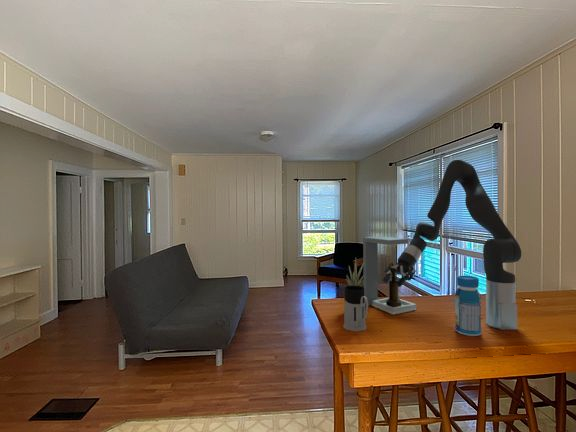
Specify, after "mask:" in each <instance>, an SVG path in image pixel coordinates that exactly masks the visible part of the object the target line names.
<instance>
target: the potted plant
mask: <svg viewBox="0 0 576 432" xmlns="http://www.w3.org/2000/svg"><path fill="white" fill-rule="evenodd" d="M354 262H355V263H354V271H352V270H351V266H350V265H348V271H349V274H350V275H349V276H350V277H349V276H348V274H346V278H345V280H346V282H347V283H345V284H344V286H343V288H344V289H345V287H346V286H361V287H363V286H364V274H363V275H362V276H361V273H362V270H363V265H364V262H362V264H361V265H360V266H361V267H360V268H359V271H358V273H357V258H355V261H354ZM360 276H361V277H360ZM359 278H360V279H359ZM347 284H348V285H347ZM365 297H366V296H365ZM366 298H367V297H366ZM365 303H366V300H365Z"/></svg>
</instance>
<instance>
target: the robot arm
mask: <svg viewBox="0 0 576 432" xmlns="http://www.w3.org/2000/svg"><path fill="white" fill-rule="evenodd" d="M455 182H457V183H459V184H460V186H461V187H462V188H463V190H464V193H465V202H464V203H465V206H466V209H467V211H468V213H469V215H470V217H471V218H472V220H473V221H475V222H476V224H478V225H479V226H481V228H484V229H485V230H486V231H487V232H488V233H489V234H491V235H492V237H493V238H490V239H487V240H486V241H485V242H484V244H483V248H482V256H483V257H482V258H483V270H484V273H485V320H486V321H485V322H486V323H485V324H486V325H487V326H489V327H492V328H495V329H499V330H503V331H505V330H508V331H511V330H512V331H513V330H514V331H515V330H518V304H517V303H516V275H515V274H514V273H512V272H509V271H507V270H505V269H504V264H509V263H512V264H513V263H517V262H519V261H520V260H521V258H522V248H521V246H520V244H519V242H518V241H517V239H516V238H515V237H514V235H513V234H512V232H511V231H510V230H509V229H508V227H507V225H506V224H505V223H504V221H503V219H502V218H501V216H500V214H499V213H498V211H497V209H496V207H495V205H494V203H493V201H492V200H491V198H490V196H489V195H488V193H487V191H486V189H485V188H484V187H483V185H482V182H481V181H480V178H479V176H478V174H477V171H476V169H475V167H474V165H472V164H470V163H468V162H467V161H465V160H462V159H460V158H456V159H453V160H451V161H450V162H449V163H448V164H447V167H446V169H445V171H444V173H443V178H442V179H441V183H440V186H439V189H438V191H437V194H436V196H435V197H436V198H435V199H434V201H433V203H432V205H431V206H430V209H429V211H428V213H427V216H426V217H427V218H428V219H429V220H430V221H432V222H433V224H434V225H432V224H430V223H427V222H425V221H420V222H419V223H418V224H416V227H415V231H414V235H413V237H412V239H411V240H410V242H408V245H407V246H406V247H405V248H404V249H403V250H402V252H401V254H400V255H399V257H398V258H397V262H396V263H395V264H394V263H393V262H390V264H389V265H388V266H387V267H386V269H385V270H384V273H385V274H386V275H385V276H384V277H383V279H382V281H383V282H384V284H387V283H389V281H390V279H392V278H391V276H392V273H391V271H390V268H391V267H392V266H395V267H396V268H397V272H396V274H395V275H396V276H397V275H399V276H401V277H400V278H399V279H398V280H397V281H398V282H397V286H398V288H401V287H402V286H403V285H404V283H406V281H408V282H410V281H411V280H412V278H413V277H414V275H415V274H416V271H417V270H416V269H415V268H414V267H415V265H416V264H417V263H418V260H420V258H421V256H422V253H424V251H425V249H426V248H427V245H428V244H427V242H426V241H425V240H428V241H430V242H434V241H436V240H437V239H438V238H439V235H440V230H441V225H442V222H443V219H444V218H445V216H446V214H447V213H448V211H449V208H450V203H451V197H452V196H451V195H452V190H453V187H454V185H455ZM423 238H424V239H425V240H424V239H423Z"/></svg>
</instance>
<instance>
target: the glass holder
mask: <svg viewBox="0 0 576 432" xmlns="http://www.w3.org/2000/svg"><path fill="white" fill-rule="evenodd" d="M344 287H345V288H344V296H343V297H344V299H343V301H344V302H343V305H344V306H343V307H344V308H343V309H344V311H343V314H344V315H343V318H344V319H343V320H344V322H343V326H342V327H343V328H344V329H345V330H347V331H350V330H351V331H350V332H361V331H362V330H363V331H365V330H367V325H366V318H367V316H368V311H369V305H368V300H367V298H366V297H365V296H364V286H348V285H347V286H346V285H345V286H344ZM365 300H366V305H365ZM363 331H362V332H363Z"/></svg>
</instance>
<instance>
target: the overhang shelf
mask: <svg viewBox="0 0 576 432" xmlns="http://www.w3.org/2000/svg"><path fill="white" fill-rule="evenodd" d="M362 241H363V242H362V248H363V249H362V250H363V251H362V253H363V255H362V257H363V260H362V261H363V262H364V265H363V268H362V270H363V272H362V273H363V275H364V276H363V280H364V283H363V287H364V296H366V297H367V300H368V306H372V307H373V306H374V307H373V308H376V309H378V308H379V309H378V310H380V311H383V312H386V313H389V314H390V315H397V314H402V313H407V312H413V310H414V311H416V310H417V304H416V303H413V302H410V301H408V300H404V299H401V298H399V297H398V299H400V300H401V301H402V306H399V307H391V306H388V305H386V300H387V299H388V298H389V297H386V298H379V289H378V288H379V286H378V285H379V283H378V282H379V277H378V276H379V274H378V273H379V271H378V270H379V269H378V266H379V265H378V264H379V263H378V262H379V261H378V260H379V259H378V255H379V254H378V244H380V245H386V246H387V245H388V246H393V245H394V246H395V245H404V244H405V245H407V244H408V245H409V238H403V237H391V236H382V235H380V236H368V237H367V236H365V237H362ZM363 262H362V263H363ZM365 306H366V303H365Z"/></svg>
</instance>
